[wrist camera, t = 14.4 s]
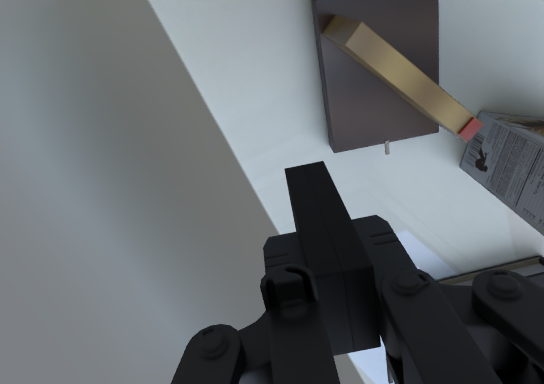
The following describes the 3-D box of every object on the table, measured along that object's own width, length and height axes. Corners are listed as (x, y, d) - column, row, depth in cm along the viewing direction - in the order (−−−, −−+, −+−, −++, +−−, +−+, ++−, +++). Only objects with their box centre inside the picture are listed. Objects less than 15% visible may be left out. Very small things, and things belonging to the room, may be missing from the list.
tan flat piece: (321, 33, 34) (345, 45, 27) (335, 14, 34) (363, 21, 26) (423, 114, 38) (468, 145, 30) (437, 98, 37) (486, 125, 30)
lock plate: (307, -25, 34) (312, -26, 32) (428, -49, 34) (439, -52, 32) (331, 156, 41) (335, 164, 39) (430, 136, 41) (439, 144, 39)
